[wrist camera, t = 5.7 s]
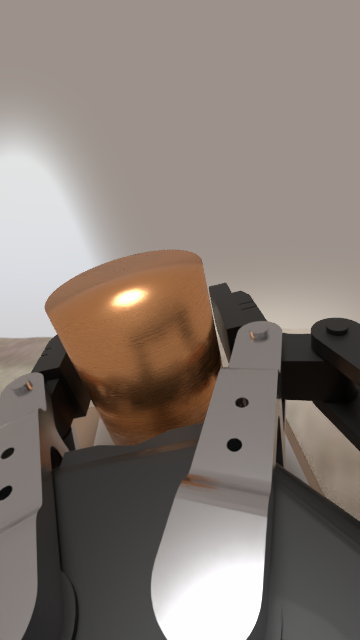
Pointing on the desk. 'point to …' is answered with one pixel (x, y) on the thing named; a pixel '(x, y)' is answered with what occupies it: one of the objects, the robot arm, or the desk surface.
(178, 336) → the copper cup
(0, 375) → the desk surface
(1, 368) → the desk surface
